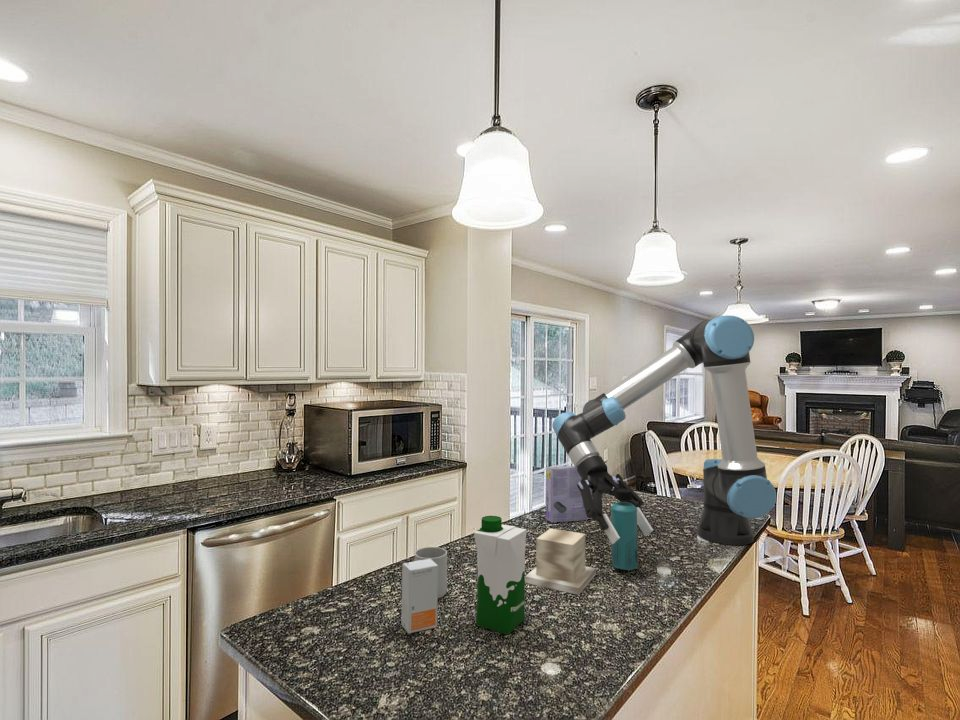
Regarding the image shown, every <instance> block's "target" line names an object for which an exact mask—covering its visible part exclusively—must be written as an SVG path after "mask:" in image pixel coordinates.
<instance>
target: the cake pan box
mask: <svg viewBox="0 0 960 720" xmlns="http://www.w3.org/2000/svg"><path fill="white" fill-rule="evenodd" d="M580 481H581V477H580V475H579V473H578V472H577V468H575V466H574V465H563V466H561V465H560V466H546V468H545V520H546V521H548V522H549V523H550V524H558V523H557V522H560V523H567V522H568V521H574V522H580V521H579V520H582V521H589V520H588V519H592V517H591V518H588V517H587V515H586V511H585V507H584V504H583V500H582V496H581V492H580V490H579V488H578V487H577V484H578V483H579V482H580ZM590 492H591V495H592V490H591V488H590ZM592 499H593V497H592ZM568 523H569V522H568Z"/></svg>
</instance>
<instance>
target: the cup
mask: <svg viewBox="0 0 960 720" xmlns="http://www.w3.org/2000/svg"><path fill="white" fill-rule="evenodd" d="M426 559H431V560H432V561H433V562H435V563H436V564H437V565H438V599H441V598H443V597H444V596H445V595H446V594H447V592H448V590H447V589H448V550H447V549H445V548H442V547H438V546H437V547H436V546H427V547H422V548H421V547H420V548H419V549H417V550H415V551H414V561H418V560H426Z"/></svg>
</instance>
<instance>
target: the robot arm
mask: <svg viewBox="0 0 960 720" xmlns="http://www.w3.org/2000/svg"><path fill="white" fill-rule="evenodd" d="M754 343H755V333H754V331H753V329H752V326H751V325H750V324H749V323H748V322H747V321H746V320H745V319H743V318H741V317H739V316H737V315H736V316H735V315H720V316H716V317H713V318H710V319H706V320H704V321H701V322H699V323H698V324H696V325H695V326H693V327H692V328H691V329H690V330H688V331H687V332H686V333H685V334H683V335H682V336H681V337H679V338H678V339H677V340H674V342H673V343H672V346H671V348H669V349H667V350H666V351H664V352H663V353H662V354H660V355H658V356H657V357H656V358H654V359H653V360H651V361H649V362H648V363H647V364H645V365H644V366H641V367H640V368H639V369H637V370H635V372H632V373H631V374H630V375H628V376H627V377H625V378H624V379H622V380H621V381H619V382H617V384H614V385H613V386H612V387H610V388H609V389H607V390H606V391H603V393H601V394H600V395H598V396H596V397H595V398H592V399H590V400H588V401H586V403H584V405H583V407H582V412H581V413H579V414H577V415H576V413H574V412H572V411H566V412H561V413H560V414H558V415H557V416H556V417H555V418H554V419H553V420H552V429H553V431H554V432H555V433H554V434H556V437H557V439H558V440H559V442H560V444H561V445H562V447H563V449H564V451H565V452H566V454H567V456H568V457H569V459H570V461H571V463H572V464H573V466H575V468H577V472H578V473H579V475H580V477H581V481H580V482H579V483H578V484H577V487H578V488H579V490H580V492H581V496H582V500H583V504H584V507H585V511H586V515H587V517H588V518H591V517H592V521H593V522H597V524H598V526H599V527H600V528H601V530H602V531H604V533H605V535H606V537H607V538H608V540H609V542H610V543H612V544H614V543H615V542H616V541H617V540H619V539H620V537H619V535H618V533H617V532H616V530H615V528H614V526H613V525H612V523H611V518H609V516H608V515H607V513H603V494H604V495H605V494H606V495H607V494H608V495H609V496H611V497H614V498H615V493H616V490H617V489H628V490H631V491H632V500H618V502H629V503H632V504H633V505H634V506H635V507H636V508H637V526H638V527H639V528H640V531H641V532H642V533H643V535H644V536H645V537H648V536H649V535H650V534H651V533H652V532H653V531H654V529H653V527H652V526H651V524H650V523H649V521H648V518H647V515H645V513H644V511H643V510H642V506H643V505H644V504H645V502H644V500H643V499H642V498H641V497H640V495H638V494H637V493H636V492H635V491H634V490H633V489H632V488H631V487H630V486H629V485H628V484H627V483H626V482H625V480H624V479H623V477H622V476H621V474H620V473H616V475H614V476H613V475H611V474H610V473H609V472H608V465H607V463H606V462H605V460H604V458H603V457H602V456H600V452H599V451H598V449H597V447H596V446H595V444H594V442H593V441H592V440H591V439H593V438H595V437H596V436H598V435H600V434H602V433H604V432H605V431H607V430H609V429H611V428H613V427H615V426H618V424H620V423H621V422H622V421H624V420H626V412H625V411H624V410H625V409H627V408H629V407H630V406H631V405H633V404H634V403H636V402H637V401H639V400H641V399H642V398H643V397H645V396H647V395H648V394H649V393H651V392H654V390H656V389H658V388H659V387H660V386H662V385H664V384H665V383H667V382H669V381H670V380H672V379H673V378H675V377H676V376H677V375H679V374H681V373H682V372H684V371H685V370H686V369H694V368H696V367H698V366H699V365H701V364H703V368H704V369H705V370H706V371H707V372H709V373H710V376H711V377H710V378H711V385H712V393H713V399H714V405H715V414H716V421H717V427H718V434H719V435H718V436H719V441H720V451H721V457H722V459H721V458H719V459H717V458H714V459H713V458H712V459H711V458H708V459H705V460H704V462H703V469H702V472H703V475H702V476H703V510H702V513H701V516H700V519H699V521H698V523H697V535H698V536H699V537H700V538H701V539H704V540H706V541H708V542H709V541H710V542H712V543H717V544H722V545H732V546H743V545H744V546H745V545H749V544H752V543H754V542H755V536H754V535H755V533H754V530H753V527H752V523H751V521H750V519H758V518H762V517H764V516H766V515H768V514H769V513H770V512H771V511H772V510H773V508H774V507H775V504H776V502H777V491H776V488H775V486H774V485H773V483H772V482H771V481H770V479H768V477H767V470H766V464H765V462H763V461H762V460H761V459H759V457H758V452H757V445H756V439H755V438H756V437H755V431H754V423H753V417H752V409H751V403H750V393H749V388H748V381H747V374H746V372H747V371H746V369H747V368H748V367H749V366H750V364H751V363H752V362H751V357H750V356H751V355H750V352H751V350H752V348H753V346H754ZM590 488H591V490H592V495H591V492H590ZM592 497H593V499H592Z"/></svg>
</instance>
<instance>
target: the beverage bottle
mask: <svg viewBox="0 0 960 720" xmlns="http://www.w3.org/2000/svg"><path fill="white" fill-rule="evenodd" d="M614 498H615V499H616V500H618V501H617V502H615V503H614V504H613V505H611V506H610V513H611V515H610V516H611V517H610V521H611V523H612V525H613V526H614V528H615V530H616V532H617V533H618V535H619V537H620V539H619V540H617V541H616V542H615V543H614V544H612V543H611V542H610V543H611V545H610V549H611V553H610V557H611V558H610V560H611V565H612V566H613V567H614V568H616V569H618V570H625V571H632V570H636V569H637V568H638V565H639V548H638V547H639V536H638V524H637V508H636V507H635V506H634V505H633V504H632V503H629V502H620V501H619V500H632V491H631V490H628V489H617V490H616V493H615V497H614Z"/></svg>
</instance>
